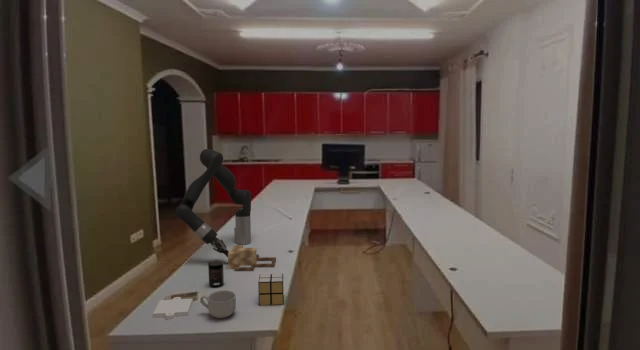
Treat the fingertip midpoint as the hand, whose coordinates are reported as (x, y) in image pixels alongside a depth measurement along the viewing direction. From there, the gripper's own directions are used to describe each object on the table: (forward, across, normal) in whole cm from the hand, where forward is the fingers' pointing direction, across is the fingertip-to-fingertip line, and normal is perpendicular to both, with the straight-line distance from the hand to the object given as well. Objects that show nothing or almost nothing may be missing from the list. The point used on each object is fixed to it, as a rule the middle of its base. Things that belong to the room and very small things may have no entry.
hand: (230, 256), depth 229 cm
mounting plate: (-5, -57, +12) cm, 58 cm away
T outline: (+13, 0, -7) cm, 15 cm away
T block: (+8, 0, -2) cm, 8 cm away
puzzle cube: (+22, -48, -16) cm, 55 cm away
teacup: (+8, -62, -2) cm, 62 cm away
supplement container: (+3, -31, +3) cm, 31 cm away
